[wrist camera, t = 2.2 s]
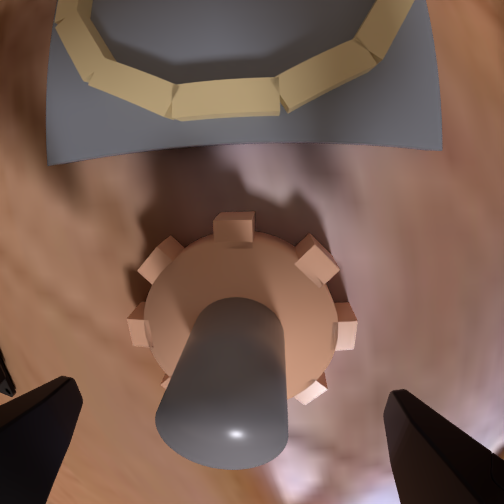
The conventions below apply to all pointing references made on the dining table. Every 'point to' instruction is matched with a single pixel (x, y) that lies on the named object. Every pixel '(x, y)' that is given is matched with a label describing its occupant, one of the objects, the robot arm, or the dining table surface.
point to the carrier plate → (239, 75)
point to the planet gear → (238, 338)
